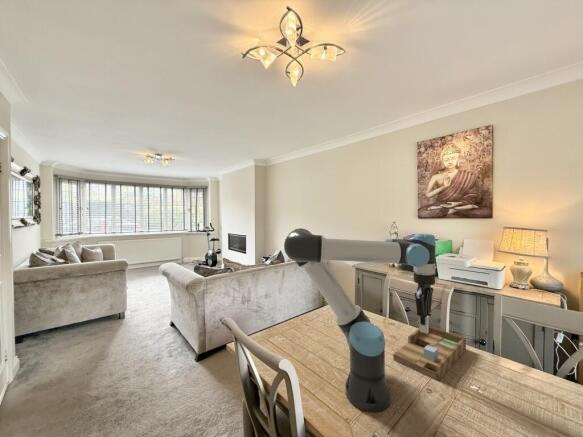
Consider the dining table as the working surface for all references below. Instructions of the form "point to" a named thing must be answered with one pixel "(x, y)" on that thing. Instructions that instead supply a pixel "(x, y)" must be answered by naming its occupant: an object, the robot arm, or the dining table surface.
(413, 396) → the dining table surface
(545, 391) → the dining table surface
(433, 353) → the block
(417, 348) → the box
